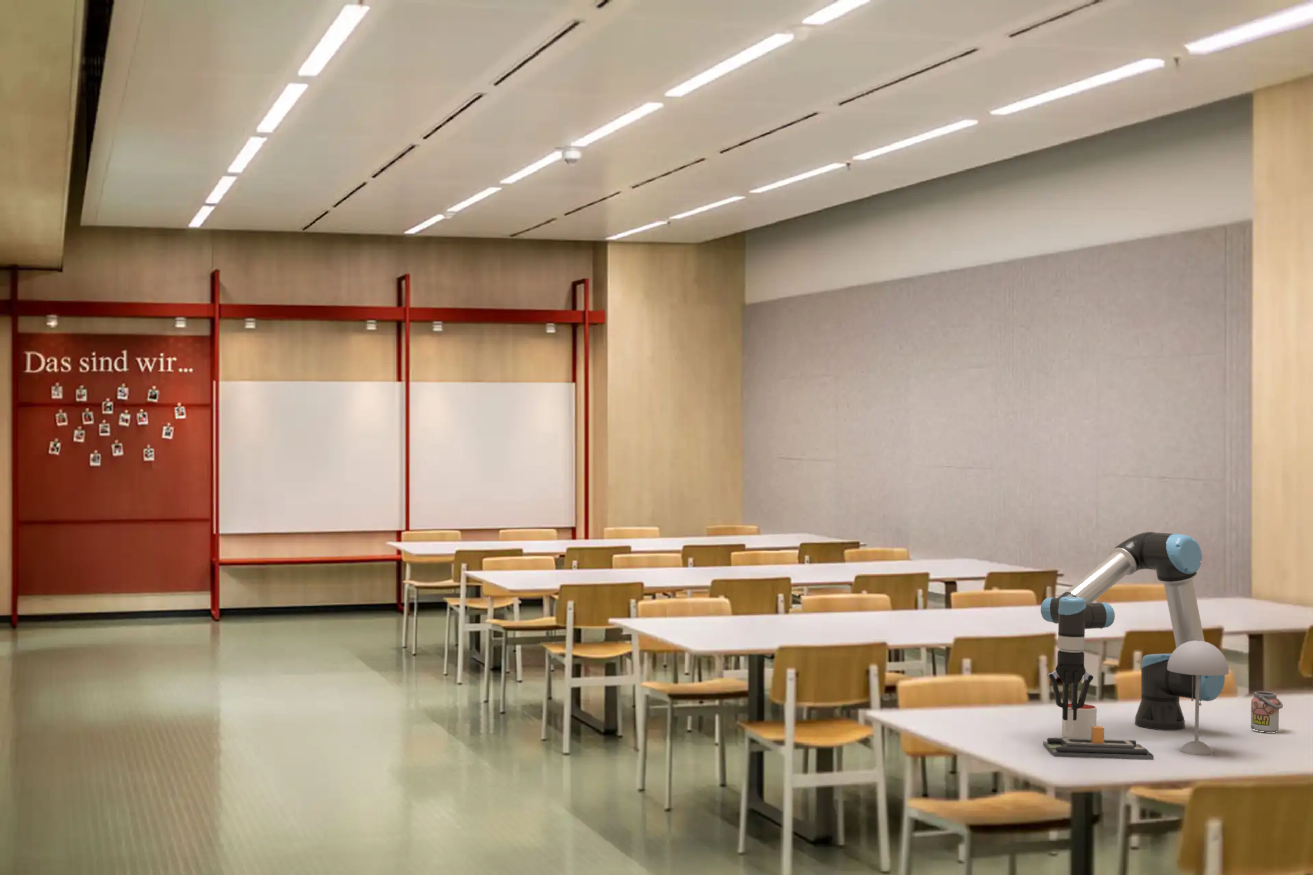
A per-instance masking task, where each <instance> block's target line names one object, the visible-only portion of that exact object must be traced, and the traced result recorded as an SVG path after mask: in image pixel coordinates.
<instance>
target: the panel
mask: <svg viewBox="0 0 1313 875" xmlns="http://www.w3.org/2000/svg"><path fill="white" fill-rule="evenodd" d="M1060 738H1061V743H1049V742H1047V740H1045V741H1044V740H1043V742H1042V746H1043V747H1044V748H1045V749H1046V750H1047V751H1048V753H1049V754H1051V756H1053V757H1054V758H1055V757H1056V758H1085V759H1086V758H1087V759H1089V758H1090V759H1114V760H1115V759H1119V760H1120V759H1121V760H1145V761H1146V760H1151V761H1153V760H1155V759H1154V754H1153V753H1151V752H1150V751H1149V750H1148V749H1147V751H1148V754H1121V753H1088V752H1058V751H1056V747H1087V748H1120V749H1146V747H1144V746H1142V745H1141V744H1138V743H1136V745H1134V744H1132V743H1131V742H1130V741H1129V739H1112V738H1111V739H1110V738H1108V739H1107V738H1104V742H1105V743H1089V741H1091V739H1082V738H1064V737H1060Z"/></svg>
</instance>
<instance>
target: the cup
mask: <svg viewBox="0 0 1313 875" xmlns="http://www.w3.org/2000/svg"><path fill="white" fill-rule="evenodd" d="M1068 708H1071V709H1072V707H1071V703H1068ZM1097 708H1098V707H1097V706H1096V705H1092V704H1086V703H1084V706H1083V707H1082V708H1078V709H1077V719H1076V720H1073V732H1067V731H1066V720H1063V718H1062V717H1061V734H1062V738H1082V739H1091V726H1097V710H1098V709H1097ZM1061 709H1062V708H1061ZM1061 712H1062V713H1063V709H1062V710H1061ZM1062 713H1061V714H1062Z"/></svg>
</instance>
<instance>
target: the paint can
mask: <svg viewBox="0 0 1313 875" xmlns="http://www.w3.org/2000/svg"><path fill="white" fill-rule="evenodd" d="M1250 703H1251V704H1250V729H1251V730H1252V729H1255V730H1258V731H1264V732H1276V731H1277V732H1278V731H1279V727H1280V726H1279V725H1280V724H1279V722H1280V721H1279V719H1280V715H1279V714H1280V709H1283V706H1284V704H1283V703H1282V701H1281V700H1280V699H1279V698H1277V693H1275V692H1270V691H1254V692H1253V697H1252V698H1251V702H1250ZM1277 732H1276V733H1277Z"/></svg>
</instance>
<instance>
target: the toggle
mask: <svg viewBox="0 0 1313 875" xmlns="http://www.w3.org/2000/svg"><path fill="white" fill-rule="evenodd" d="M1104 739H1105V727H1103V726H1102V725H1096V726H1091V741H1089V743H1105V742H1104Z"/></svg>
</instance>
